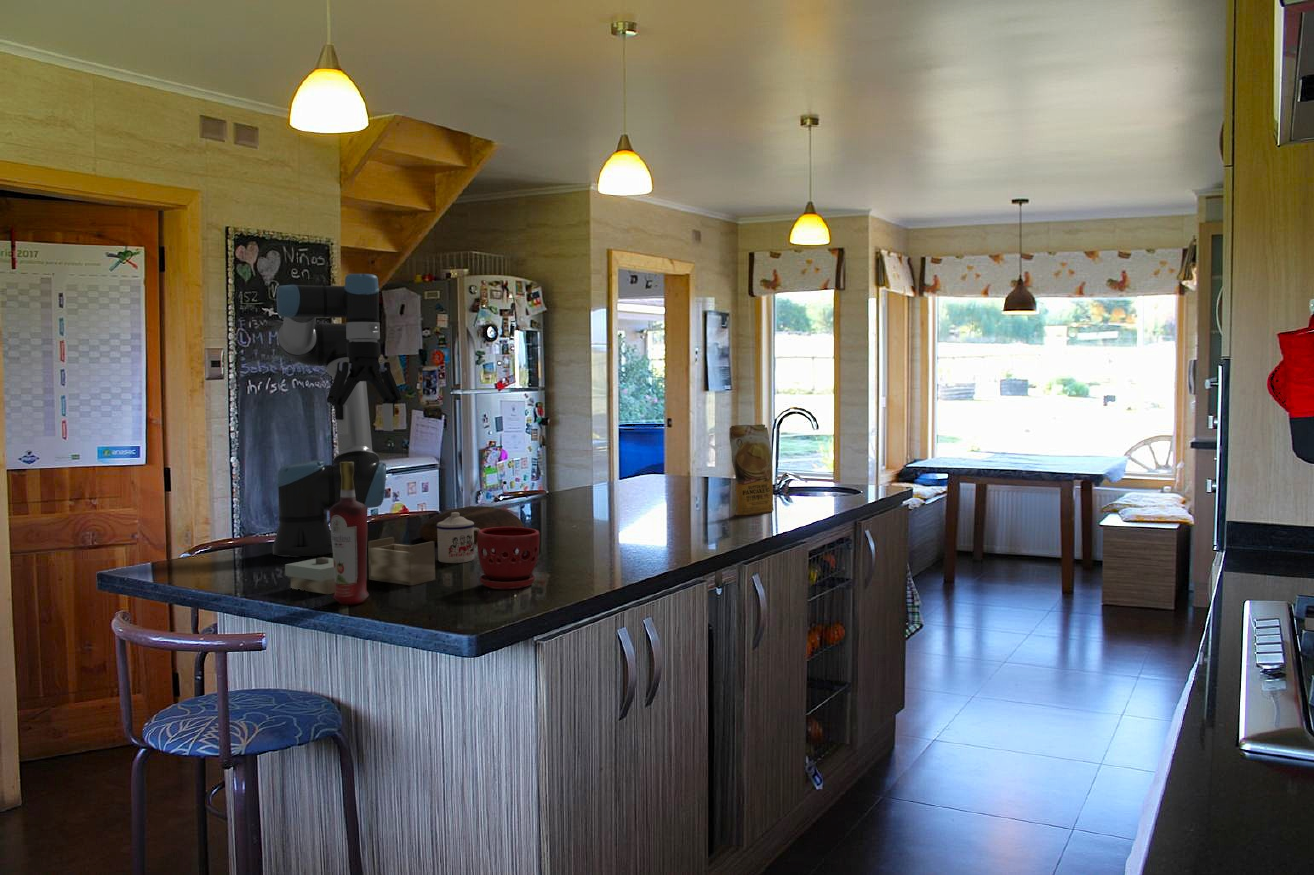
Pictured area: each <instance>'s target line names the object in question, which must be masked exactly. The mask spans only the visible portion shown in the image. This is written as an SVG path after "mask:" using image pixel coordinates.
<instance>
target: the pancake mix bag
mask: <svg viewBox="0 0 1314 875" xmlns="http://www.w3.org/2000/svg"><path fill="white" fill-rule="evenodd" d="M728 433H729V438H728V439H729V444H730V449H731V463H732V467H733V471H734V475H735V476H734V477H735V492H736V508H735V516H752V515H762V514H768V513H769V514H770V513H773V511H774V486H773V484H774V483H773V482H774V481H773V478H774V476H773V475H774V474H773V473H774V472H773V469H774V466H773V456H772V448H771V442H770V435H769V430H768V427H766V424H762V423H761V424H736V425H731V426H730V427H729V432H728Z"/></svg>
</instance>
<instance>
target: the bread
mask: <svg viewBox="0 0 1314 875" xmlns="http://www.w3.org/2000/svg"><path fill="white" fill-rule="evenodd" d="M453 512H458V513H459V516H461V517H464V518H465V519H467V520H470V521H472V522H473V523H474V528H479V529H480V530H481V529H484V528H492V527H524V523H523V522H522V520H521V519H520V518H519V517H518V516H516V515H515V514H514V513H512V512H510V511H508V510H507V509H502V508H498V507H491V506H485V505H483V506H481V505H480V506H478V505H477V506H473V505H472V506H465V507H459V508H453V509H449V510H446V511H444V512H441V513H439V514H436V515H434V516H432V517H430V518H429V519H427V520H426V521H424V523H423V524H422V525H421V526H420V528H419V534H420V538H422V539H423V540H425V541H427V542H432V541H434V544H435V543H436V544H438V534H437V527H436V526H437V523H439V522H441V521H444V520H445V519H446V518H448V517H451V513H453ZM524 528H525V527H524ZM477 537H478V532H477V531H474V545H475V544H476V543H477Z"/></svg>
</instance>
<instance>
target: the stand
mask: <svg viewBox="0 0 1314 875" xmlns="http://www.w3.org/2000/svg"><path fill="white" fill-rule="evenodd" d="M289 577H290V576H289ZM291 588H292V590H298V589H300V590H299V591H304V590H305V592H311V593H318V594H324V595H331V594H335V578H333V579H329V580H324V581H317V580H310V579H304V578H297V577H290V589H291Z"/></svg>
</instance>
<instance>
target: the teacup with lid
mask: <svg viewBox="0 0 1314 875" xmlns="http://www.w3.org/2000/svg"><path fill="white" fill-rule="evenodd" d="M436 527H437V534H438V543H437V560H438V561H439V562H440V563H445V564H462V563H468V562H471V561H474V560H475V549H478V544H477V543H476V544H475V545H474V531H477V532H478V531H479V530H480V529H479V528H474V523H473V522H472V521H470V520H467V519H465V518H464V517H461V516H459V513H458V512H453V513H451V517H448V518H446V519H445V520H444V521H441V522H439V523H437V526H436Z"/></svg>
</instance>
